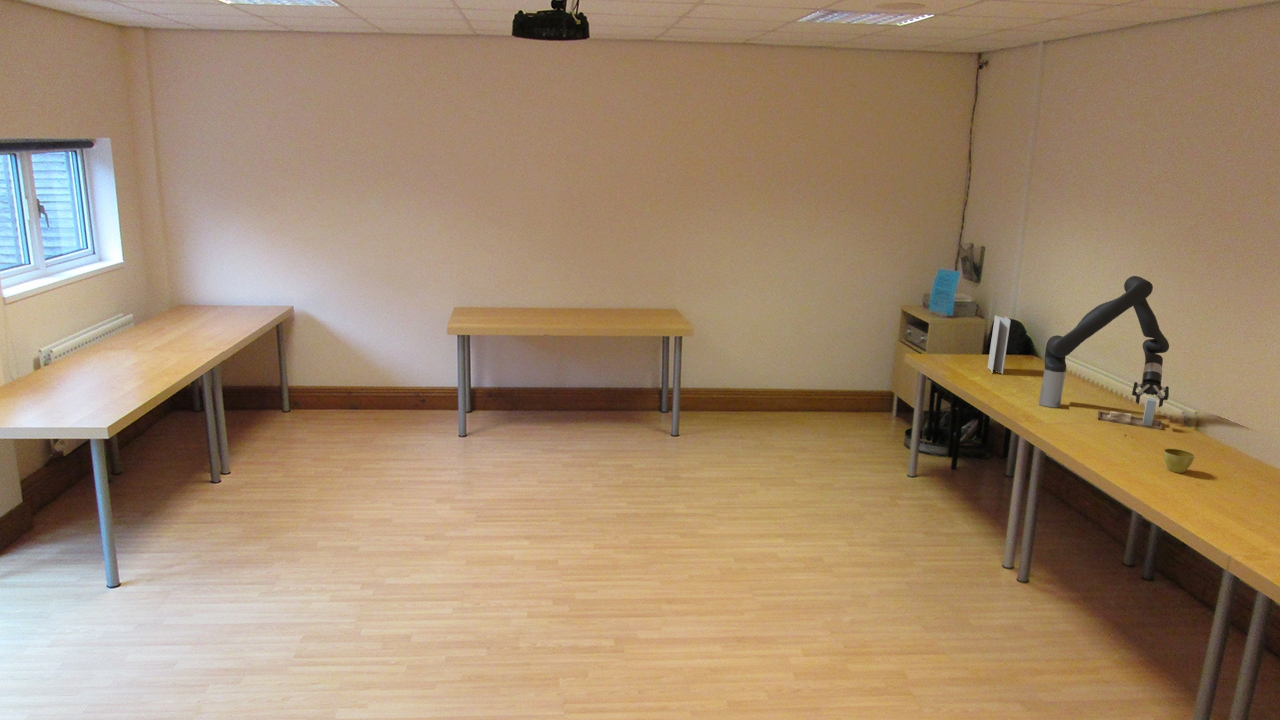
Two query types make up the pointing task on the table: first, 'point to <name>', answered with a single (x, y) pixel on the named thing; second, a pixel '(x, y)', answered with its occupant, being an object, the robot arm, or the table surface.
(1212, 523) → the table surface
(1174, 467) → the green bowl
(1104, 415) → the brown serving tray
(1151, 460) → the table surface
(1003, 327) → the brochure
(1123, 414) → the offcut stack
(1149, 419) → the blue-grey rectangular block
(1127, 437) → the table surface
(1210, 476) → the table surface
